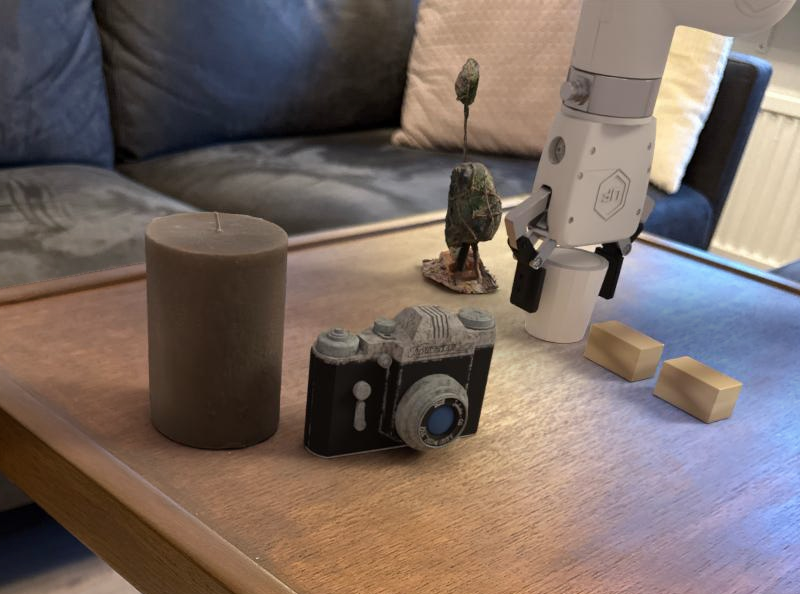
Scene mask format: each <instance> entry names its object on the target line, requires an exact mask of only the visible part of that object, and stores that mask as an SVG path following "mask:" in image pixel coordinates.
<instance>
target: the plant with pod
mask: <svg viewBox="0 0 800 594" xmlns="http://www.w3.org/2000/svg"><path fill="white" fill-rule="evenodd" d="M479 81H480V65H479V63H478V62H477V60H475V58H472V57H469V58H468V59H467V60H466V62H465V64H464V65H462V67H461V70H460V71H459V73H458V75H457V76H456V79H455V82H454V92H455V95H456V98H455V100H456V102H460V103H461V104H462V105H463V118H464V119H463V120H464V121H463V133H464V135H463V148H462V149H463V150H462V151H463V156H462V163H461V164H460V165H458V166H455V167H453V169H452V170H451V175H450V176H449V177H450V183H449V188H448V189H449V190H448V191H447V192H448V194H447V209H446V214H445V217H444V222H445V225H444V227H445V228H444V237H445V238H444V243H445V244H446V247H447V249H448V250H443V251H442V250H441V251H440V253H439V256H438V258H435V257H434V258H431V259H428V258H427V259H422V262H421V263H422V267H423V268H422V271H421V273H423V274H422V276H424V277H425V278H429V279H431V280H434V282H437V283H440V284H442V285H444V286H445V287H447V288H449V289H451V290H452V291H455V292H458V293H461V294H468V295H470V294H471V293H473V294H474V295H476V294H480V293H481V294H489V293H490V292H494V291H496V290H498V289H499V288H500V286H499V283H498V282H497V280H498V279H497V278H496V275H495V274H494V275H493V274H492V273H490V270H489V269H486V268H487V266H485V265H484V262H483V260H482V258H481V255H480V253H479V250H480V249H479V245H478V244H479V243H485V242H488V241H489V242H490V241H493V239H494V238H495V235H496V234H497V232H498V230H499V228H500V225H501V222H502V218H503V211H504V210H503V203H502V200H501V194H500V193H499V191H498V190H497V188H496V187H497V186H496V184H495V182H494V178H493V176H492V174H491V173H490V171H489V169H488V168H487V167H486V166H485V165H484V164H483V163H482V162H474V161H467V146H468V145H467V144H468V143H467V141H468V131H467V128H468V119H469V117H470V107H469V106H471V105H473V103H474V102H475V99H476V97H477V91H478V88H479ZM466 161H467V162H466Z"/></svg>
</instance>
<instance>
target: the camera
mask: <svg viewBox="0 0 800 594" xmlns="http://www.w3.org/2000/svg"><path fill="white" fill-rule="evenodd" d="M498 329H499V326H498V323H497V322H496V321H495V314H494V313H492V312H491V311H489V310H487V309H484V308H481V307H474V306H471V307H470V306H469V307H461V308H460V309H459V310H458V312H457V313H454V312H452V311H450V310H449V309H446V308H444V307H443V306H440V305H439V304H432V305H431V304H429V305H417V306H406V307H405V308H403V309H402V310H400V312H398V313H397V314H395V316H394V317H393V318H388V317H377V318H376V319H375V320H374V322H373V324H372V325H370V326H368V327H367V328H366V329H364V330H362V331H361V332H358V333H355V334H354V333H353V332H350V331H349V330H346V329H345V328H344V327H342V326H335V327H334V328H330V329H327V330H323V331H321V332H319V333H318V334H317V338H316V340H314V341H313V342H312V345H311V347H310V351H309V361H308V362H309V365H308V376H307V389H306V403H305V404H306V405H305V414H304V429H303V438H302V439H303V440H302V444H303V446H304V447H305V449H306V450H307V451H308V452H309V453H310V454H312V455H315V456H316V457H319V458H323V459H334V458H340V457H346V456H352V455H360V454H365V453H370V452H371V453H372V452H380V451H385V450H390V449H397V448H404V447H409V448H411V449H414V450H417V451H422V452H423V451H424V452H425V451H432V450H436V449H441V448H444V447H447V446H449V445H450V444H452V443H453V442H455V441H456V440H457V439H461V438H466V437H472V436H476V435H477V433H478V430H479V424H480V420H481V415H482V410H483V405H484V399H485V394H486V390H487V385H488V380H489V375H490V370H491V364H492V360H493V356H494V349H495V345H496V340H497V335H498Z"/></svg>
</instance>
